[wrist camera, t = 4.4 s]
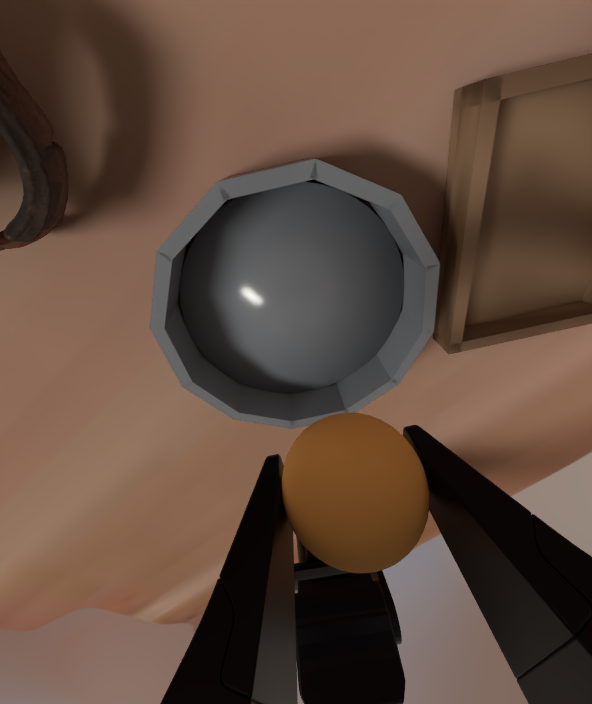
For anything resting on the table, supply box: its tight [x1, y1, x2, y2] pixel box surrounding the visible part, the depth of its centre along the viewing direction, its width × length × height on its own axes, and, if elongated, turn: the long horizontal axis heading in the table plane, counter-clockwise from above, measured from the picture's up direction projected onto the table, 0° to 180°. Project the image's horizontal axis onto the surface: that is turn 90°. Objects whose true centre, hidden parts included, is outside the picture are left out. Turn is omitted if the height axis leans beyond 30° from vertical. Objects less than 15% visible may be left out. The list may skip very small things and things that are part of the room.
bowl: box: [150, 159, 440, 429], centre depth 18 cm, size 15×15×3 cm
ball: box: [282, 413, 429, 573], centre depth 8 cm, size 4×4×4 cm
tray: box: [433, 54, 592, 354], centre depth 17 cm, size 14×11×2 cm
